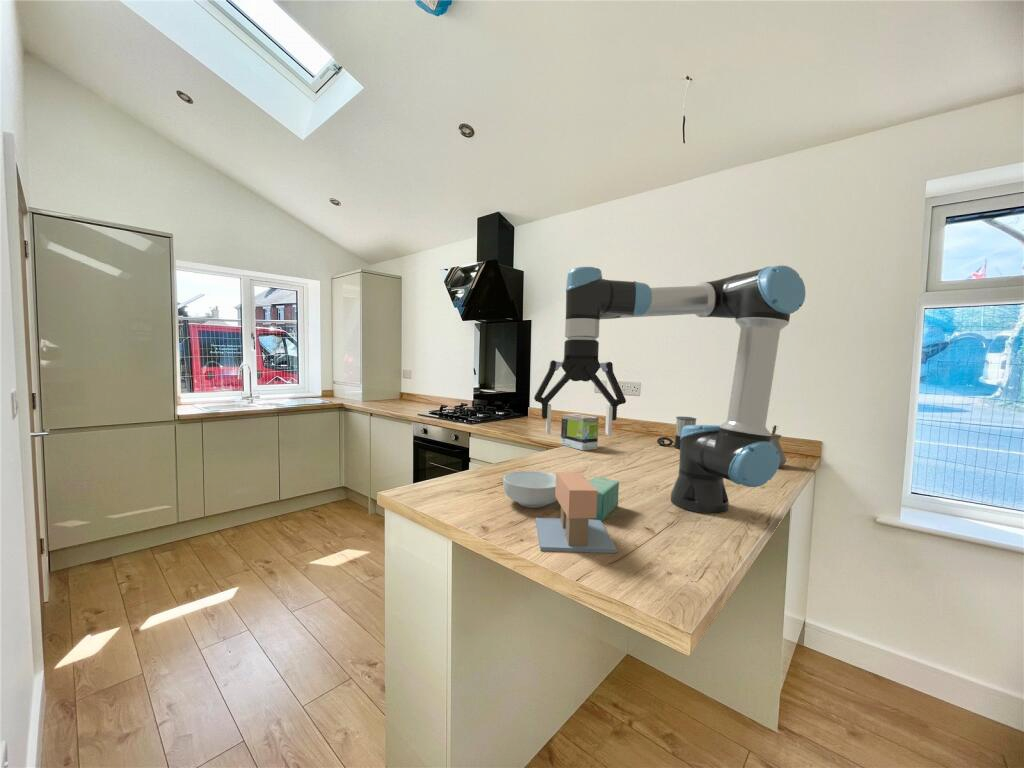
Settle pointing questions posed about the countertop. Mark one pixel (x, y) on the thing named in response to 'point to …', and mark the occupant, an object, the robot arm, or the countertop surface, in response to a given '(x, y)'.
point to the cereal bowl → (530, 488)
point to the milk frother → (678, 431)
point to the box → (605, 496)
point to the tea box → (579, 431)
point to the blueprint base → (559, 541)
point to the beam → (576, 495)
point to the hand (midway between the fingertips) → (578, 434)
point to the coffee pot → (777, 446)
